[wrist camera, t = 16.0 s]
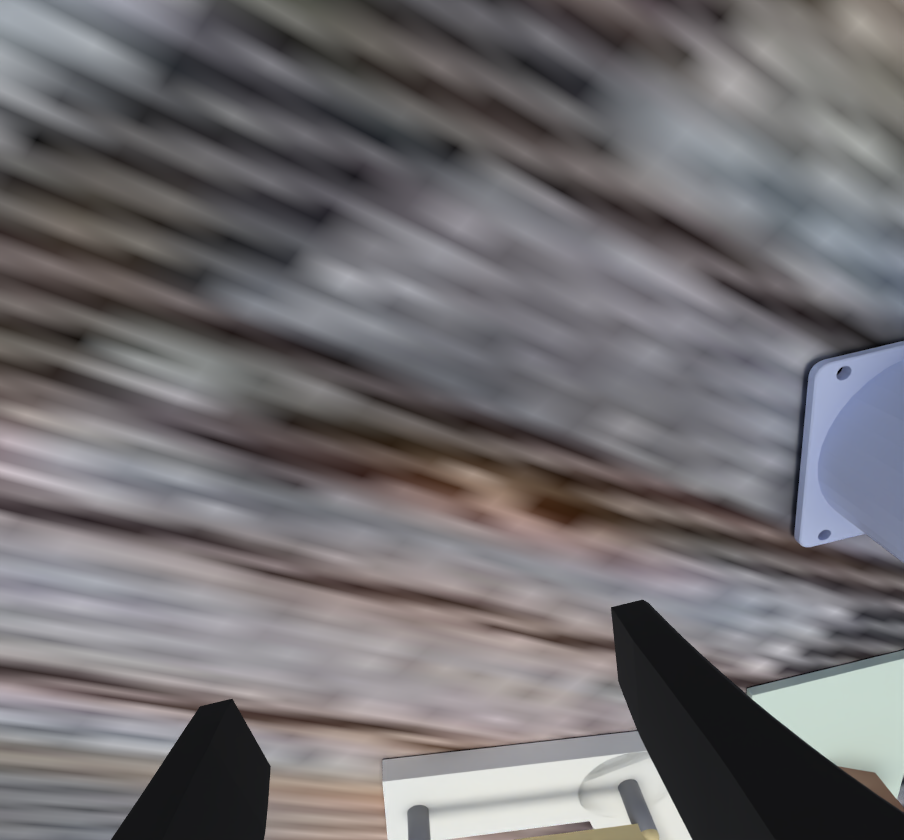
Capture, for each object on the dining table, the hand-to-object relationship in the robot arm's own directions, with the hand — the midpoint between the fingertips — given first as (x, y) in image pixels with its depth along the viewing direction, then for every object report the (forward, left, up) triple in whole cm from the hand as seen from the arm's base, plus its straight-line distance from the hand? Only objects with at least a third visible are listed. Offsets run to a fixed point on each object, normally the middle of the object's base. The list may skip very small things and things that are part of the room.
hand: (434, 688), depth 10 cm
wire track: (-2, +24, -9) cm, 26 cm away
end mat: (-17, +26, -9) cm, 32 cm away
